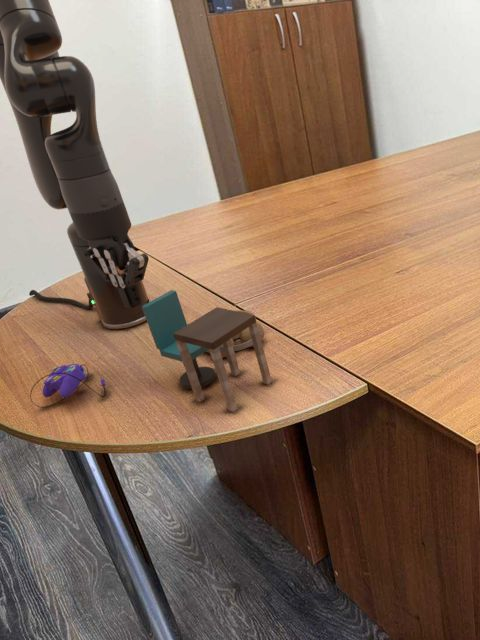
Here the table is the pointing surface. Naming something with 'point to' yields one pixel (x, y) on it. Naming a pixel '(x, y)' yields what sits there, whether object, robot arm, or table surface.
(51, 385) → the game controller
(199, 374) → the chair
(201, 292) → the table surface
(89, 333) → the table surface
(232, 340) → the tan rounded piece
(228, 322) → the desk
